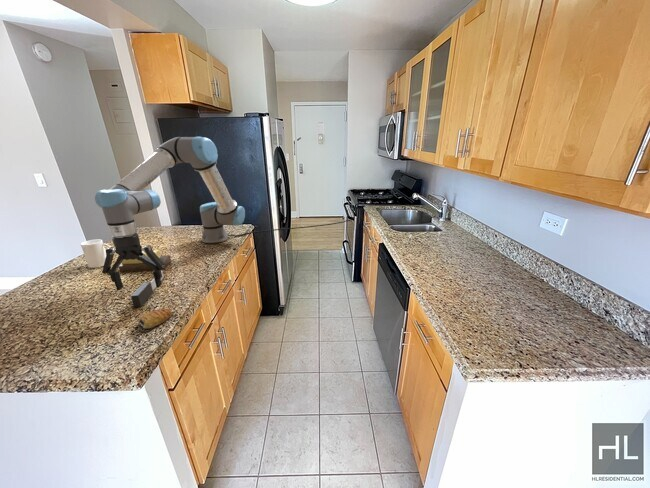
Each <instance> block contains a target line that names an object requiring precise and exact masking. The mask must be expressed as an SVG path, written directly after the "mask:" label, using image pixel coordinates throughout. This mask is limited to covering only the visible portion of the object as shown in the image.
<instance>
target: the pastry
mask: <svg viewBox="0 0 650 488" xmlns="http://www.w3.org/2000/svg"><path fill="white" fill-rule="evenodd" d="M172 314H173V313H172V310H171V309H170V308H159V309H155V310H150V311H148V312H145V313H143V315H140V316H139V317H138V323H139V325H140V327H142V328H143V329H147V330H148V329H152V328H155V327H157V326H159V325H161V324H162V323H164V322H166V321H167V320H169V319H170V317H171V316H172Z"/></svg>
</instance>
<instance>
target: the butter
mask: <svg viewBox="0 0 650 488" xmlns="http://www.w3.org/2000/svg"><path fill="white" fill-rule="evenodd" d="M142 253H144V251H142ZM144 254H145V255H146V256H147V254H146V253H144ZM140 257H141V256H140ZM135 263H143V262H142V261H139V260H137V259H135V260H132V259H129V260H125V259H124V260H123V261H122V263H121V264H135Z"/></svg>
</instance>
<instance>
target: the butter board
mask: <svg viewBox="0 0 650 488" xmlns="http://www.w3.org/2000/svg"><path fill="white" fill-rule="evenodd" d="M160 260H161V261H162V262H163V263H164V264H165V267H164V268H163V269H162V270H164V269H165V268H166V267H167V266H168V265H169V264H170V262H172V257H171V255H170V254H169V255H160ZM118 270H119V273H126V272H127V273H128V272H139V271H154V270H153V269H151V268H150V267H148V266H147V265H146V264H144V263H135V264H122V263H121V264H120V266H119V267H118Z"/></svg>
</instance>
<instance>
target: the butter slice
mask: <svg viewBox="0 0 650 488" xmlns="http://www.w3.org/2000/svg"><path fill="white" fill-rule="evenodd" d="M152 250H153V252H154V253H155V254H156V255H157V256H158V257H159V258H160V256H161V252H160V249H156V250H155V249H152ZM147 257H148V255H147ZM148 258H149V257H148ZM149 259H150V258H149Z"/></svg>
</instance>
